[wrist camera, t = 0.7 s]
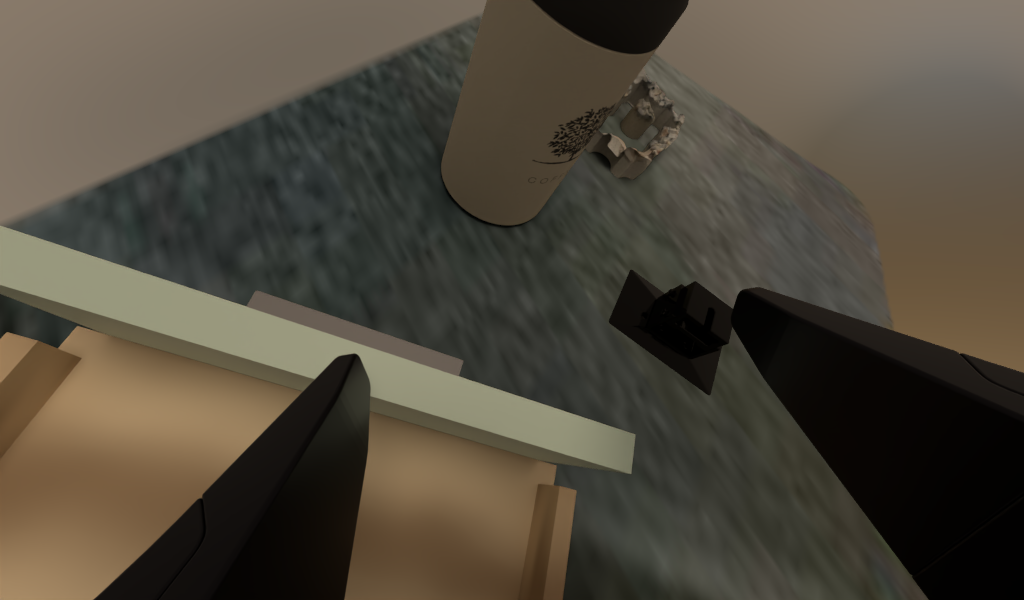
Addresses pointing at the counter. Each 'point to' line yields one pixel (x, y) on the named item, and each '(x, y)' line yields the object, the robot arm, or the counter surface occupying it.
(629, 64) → the travel mug
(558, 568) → the cart bed
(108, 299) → the panel
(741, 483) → the counter surface
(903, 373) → the robot arm
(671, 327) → the build plate
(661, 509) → the counter surface
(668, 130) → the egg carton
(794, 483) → the counter surface
